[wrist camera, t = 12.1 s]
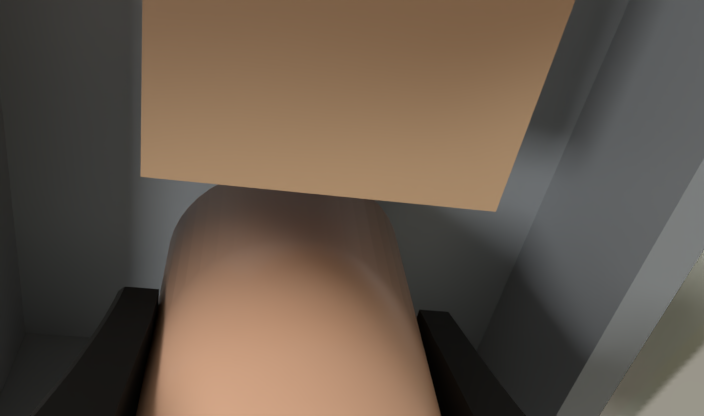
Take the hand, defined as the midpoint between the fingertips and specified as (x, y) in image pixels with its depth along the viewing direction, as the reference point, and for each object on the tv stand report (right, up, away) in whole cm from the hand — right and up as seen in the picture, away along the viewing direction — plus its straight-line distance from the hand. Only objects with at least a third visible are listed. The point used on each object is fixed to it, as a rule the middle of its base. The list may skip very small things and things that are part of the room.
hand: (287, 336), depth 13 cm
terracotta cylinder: (0, +1, +2) cm, 2 cm away
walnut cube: (+1, +8, -1) cm, 8 cm away
